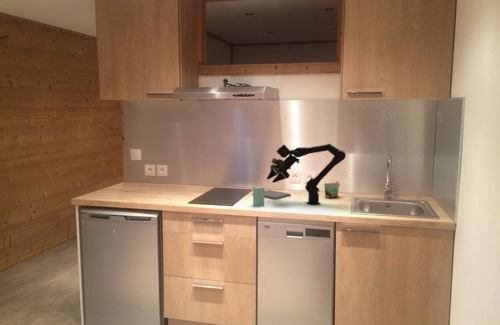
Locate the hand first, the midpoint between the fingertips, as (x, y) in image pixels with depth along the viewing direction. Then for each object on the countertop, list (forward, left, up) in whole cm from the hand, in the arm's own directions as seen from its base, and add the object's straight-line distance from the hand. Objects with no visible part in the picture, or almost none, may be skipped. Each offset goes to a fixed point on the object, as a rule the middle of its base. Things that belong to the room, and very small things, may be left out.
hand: (269, 180), depth 233 cm
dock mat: (+19, -12, -14) cm, 26 cm away
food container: (-4, -46, -14) cm, 48 cm away
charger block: (-2, +9, -14) cm, 17 cm away
